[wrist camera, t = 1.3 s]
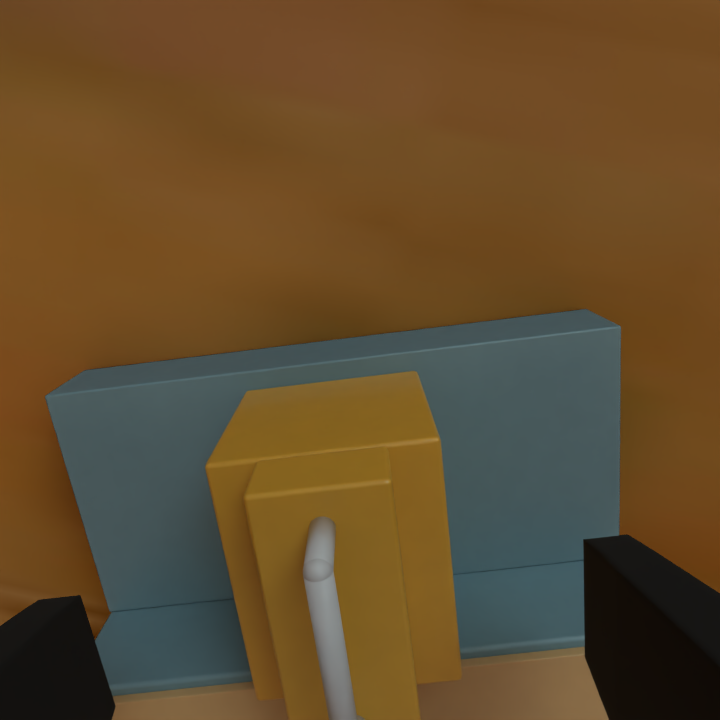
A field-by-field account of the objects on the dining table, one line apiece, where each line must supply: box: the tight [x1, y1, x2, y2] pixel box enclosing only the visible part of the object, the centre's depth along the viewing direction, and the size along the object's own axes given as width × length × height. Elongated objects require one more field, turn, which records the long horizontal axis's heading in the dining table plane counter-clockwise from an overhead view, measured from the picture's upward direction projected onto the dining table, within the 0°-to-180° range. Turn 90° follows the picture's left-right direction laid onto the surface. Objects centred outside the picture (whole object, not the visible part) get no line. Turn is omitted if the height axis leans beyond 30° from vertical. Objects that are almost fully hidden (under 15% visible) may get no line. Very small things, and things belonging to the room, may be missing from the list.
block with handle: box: [205, 371, 462, 720], centre depth 10 cm, size 5×4×6 cm
